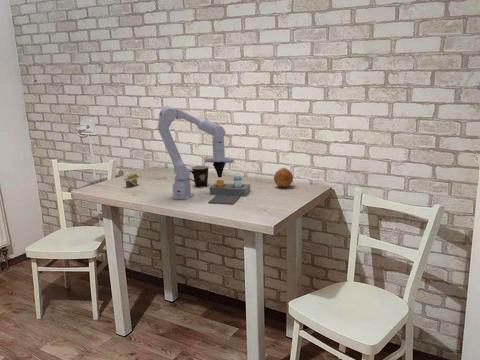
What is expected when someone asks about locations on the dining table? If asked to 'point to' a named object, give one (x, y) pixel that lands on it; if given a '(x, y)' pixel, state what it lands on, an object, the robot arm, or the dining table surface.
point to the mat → (224, 199)
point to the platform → (131, 180)
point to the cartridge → (237, 182)
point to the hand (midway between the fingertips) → (219, 177)
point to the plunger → (220, 183)
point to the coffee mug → (200, 175)
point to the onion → (283, 177)
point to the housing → (230, 190)
